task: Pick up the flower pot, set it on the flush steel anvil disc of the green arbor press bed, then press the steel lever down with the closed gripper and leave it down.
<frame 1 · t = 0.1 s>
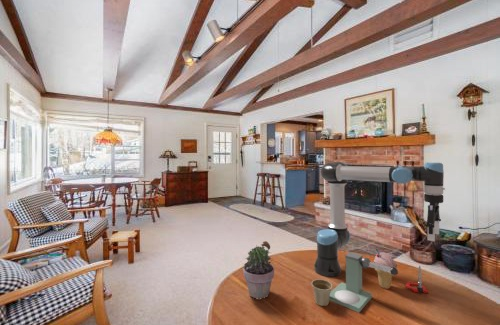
hand: (433, 237, 119), 28 cm above the table, fingers open, 13 cm apart
potted plant: (258, 295, 120), on the table
flower pot: (322, 302, 113), on the table
press: (349, 298, 116), on the table
tow hook: (415, 288, 124), on the table
lever: (378, 266, 112), point 17 cm above the table, hinge at 0.0°
ice cream cone: (384, 286, 126), on the table
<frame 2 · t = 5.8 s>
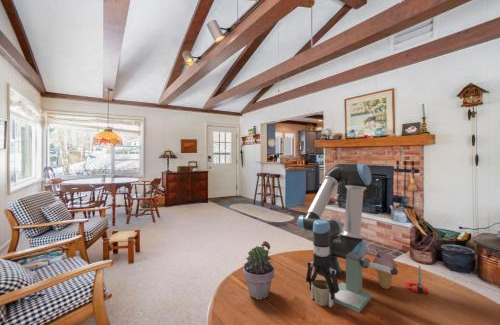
hand: (321, 301, 113), 0 cm above the table, fingers closed on flower pot, 8 cm apart
flower pot: (322, 302, 113), on the table, touching gripper
everything else where it was.
when the fingers open (3 cm above the table, at t = 12.3 s): flower pot moves 3 cm, resting on press.
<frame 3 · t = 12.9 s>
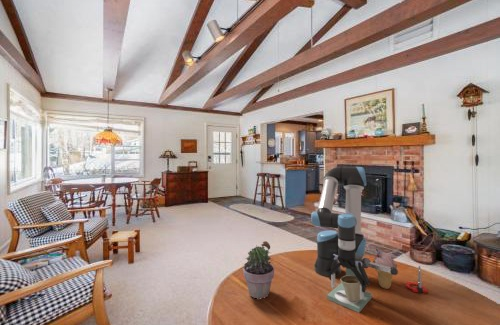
hand: (346, 292, 114), 4 cm above the table, fingers open, 13 cm apart
flower pot: (354, 298, 112), point 2 cm above the table, touching gripper, press
everything else where it was.
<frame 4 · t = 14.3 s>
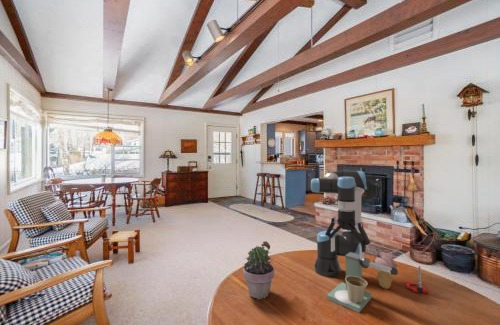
hand: (346, 254, 114), 22 cm above the table, fingers open, 13 cm apart
flower pot: (355, 299, 112), point 2 cm above the table, touching press
everything else where it was.
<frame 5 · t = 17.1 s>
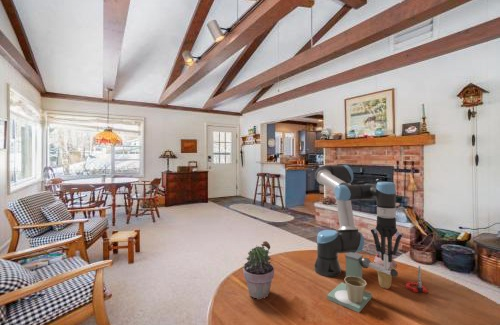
hand: (386, 268, 109), 17 cm above the table, fingers closed
lever: (378, 267, 112), point 17 cm above the table, hinge at 4.0°, touching gripper
everything else where it was.
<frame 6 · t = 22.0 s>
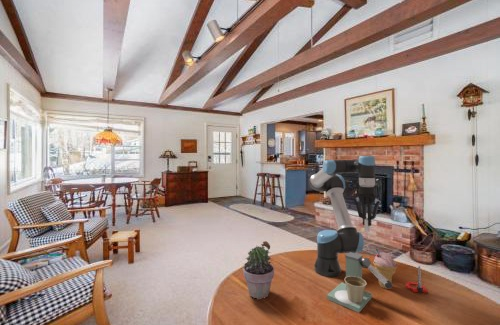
hand: (367, 231, 124), 29 cm above the table, fingers closed
lever: (376, 273, 113), point 14 cm above the table, hinge at 35.1°
everything else where it was.
at the end: flower pot inside the target area on the press (3.7 cm from its centre), point 1.8 cm above the press's base; flower pot tilted 0°; lever at +35° (first picture: +0°) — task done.
